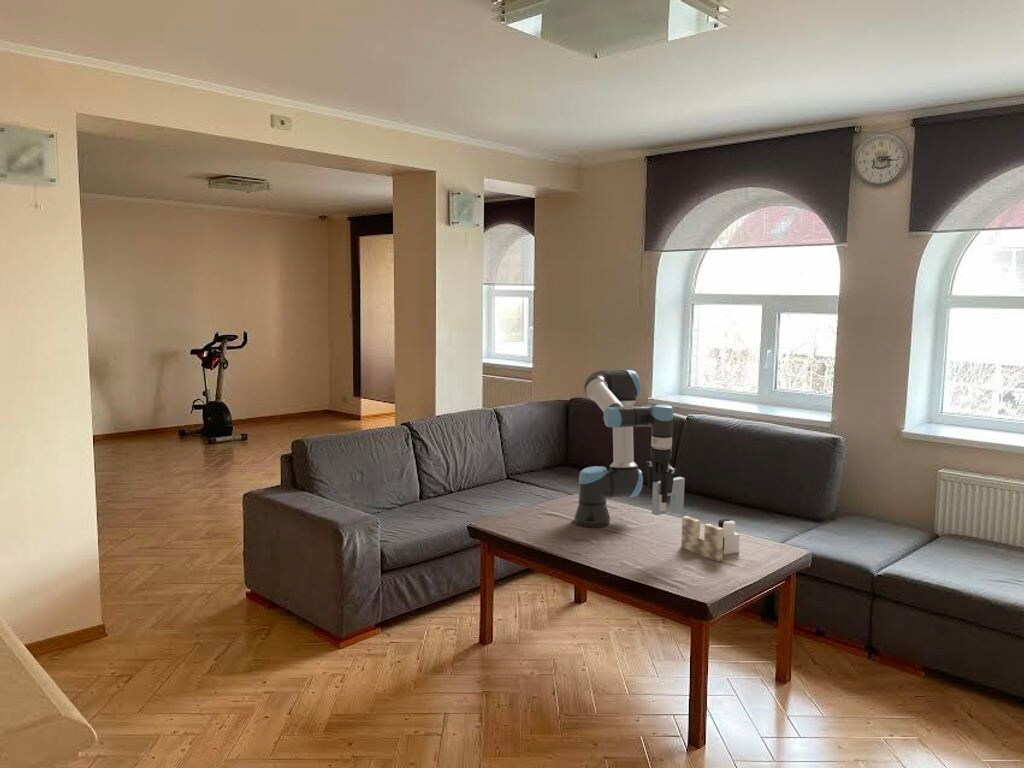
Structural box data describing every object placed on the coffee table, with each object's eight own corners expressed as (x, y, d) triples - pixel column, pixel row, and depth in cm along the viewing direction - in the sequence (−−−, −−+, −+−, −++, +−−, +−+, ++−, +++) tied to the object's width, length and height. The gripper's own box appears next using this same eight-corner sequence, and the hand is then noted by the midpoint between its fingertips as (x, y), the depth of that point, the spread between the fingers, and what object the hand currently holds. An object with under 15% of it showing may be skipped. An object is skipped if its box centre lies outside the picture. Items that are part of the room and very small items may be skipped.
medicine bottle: (712, 548, 283) (713, 518, 282) (727, 546, 286) (728, 516, 284) (723, 555, 277) (724, 524, 275) (739, 552, 279) (740, 522, 278)
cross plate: (656, 515, 272) (657, 483, 270) (651, 513, 274) (652, 482, 272) (683, 509, 279) (684, 478, 278) (678, 507, 281) (680, 476, 280)
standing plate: (681, 546, 285) (682, 516, 284) (685, 545, 287) (686, 515, 285) (717, 561, 270) (719, 529, 269) (722, 560, 272) (723, 528, 270)
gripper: (639, 444, 275) (637, 505, 278) (669, 452, 262) (666, 516, 265) (653, 442, 279) (651, 502, 282) (684, 450, 266) (681, 513, 269)
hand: (659, 509), depth 274 cm, fingers closed on cross plate, 2 cm apart
